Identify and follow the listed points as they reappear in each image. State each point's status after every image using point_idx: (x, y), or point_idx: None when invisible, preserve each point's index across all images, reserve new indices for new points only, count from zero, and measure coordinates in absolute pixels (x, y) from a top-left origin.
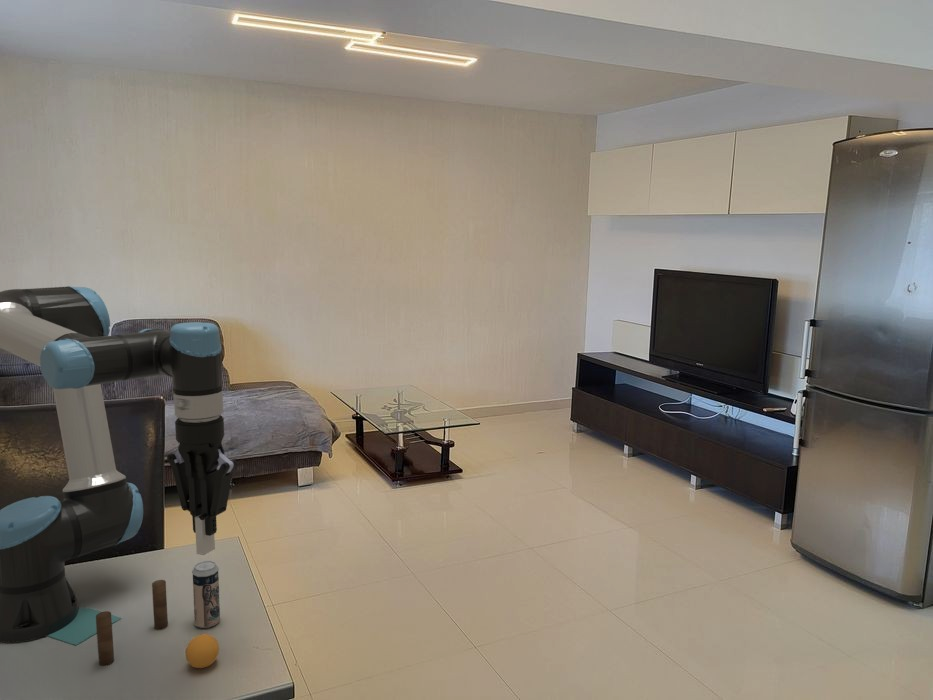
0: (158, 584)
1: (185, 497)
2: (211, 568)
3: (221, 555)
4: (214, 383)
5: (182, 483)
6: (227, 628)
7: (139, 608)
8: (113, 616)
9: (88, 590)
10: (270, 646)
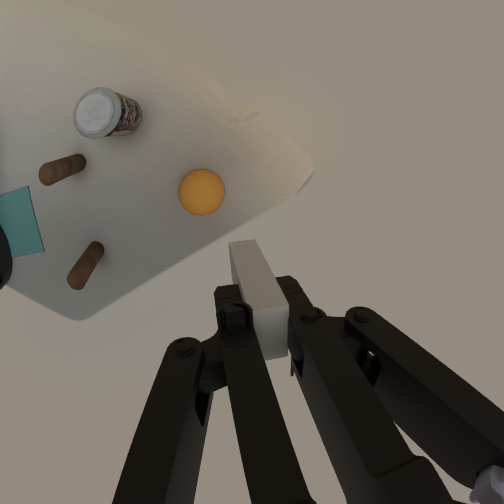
0: (51, 178)
1: (206, 426)
2: (113, 111)
3: (20, 10)
4: None
5: (194, 487)
6: (160, 108)
7: (24, 156)
8: (19, 190)
9: None
10: (251, 110)
